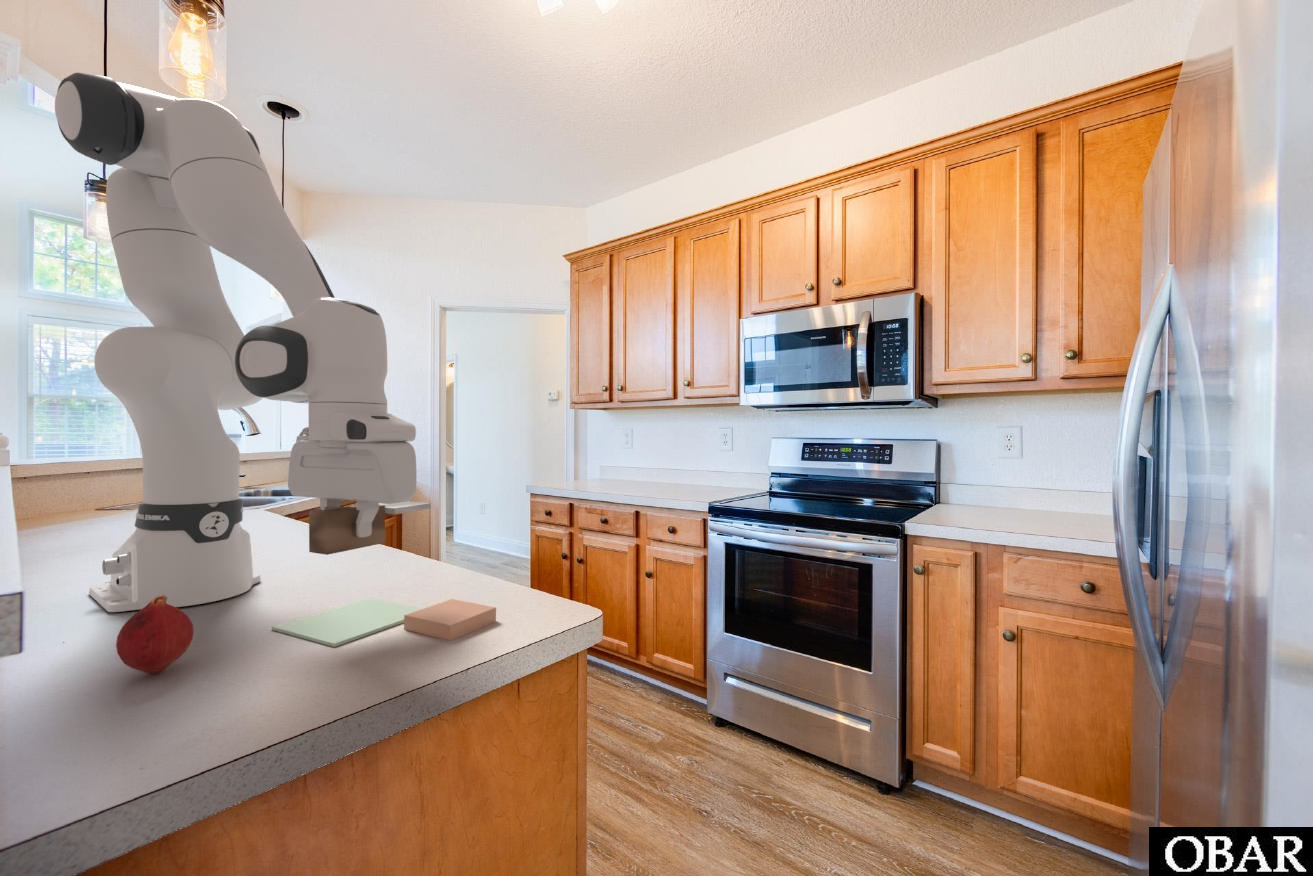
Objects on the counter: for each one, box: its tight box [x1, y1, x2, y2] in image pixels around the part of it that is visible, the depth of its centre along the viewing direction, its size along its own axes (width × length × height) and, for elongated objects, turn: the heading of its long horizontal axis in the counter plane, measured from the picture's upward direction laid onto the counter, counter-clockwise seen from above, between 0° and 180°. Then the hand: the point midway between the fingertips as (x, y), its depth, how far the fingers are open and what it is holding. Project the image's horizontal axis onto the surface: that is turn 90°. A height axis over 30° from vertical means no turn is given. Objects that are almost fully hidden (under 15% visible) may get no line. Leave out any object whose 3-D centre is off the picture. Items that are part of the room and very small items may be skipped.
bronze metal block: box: [308, 500, 432, 556], centre depth 74 cm, size 7×14×5 cm, turn 155°
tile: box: [403, 598, 497, 641], centre depth 73 cm, size 8×2×8 cm
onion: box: [115, 595, 195, 675], centre depth 57 cm, size 6×6×8 cm
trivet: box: [271, 597, 423, 648], centre depth 74 cm, size 12×14×1 cm
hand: (349, 534), depth 71 cm, fingers closed on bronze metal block, 3 cm apart
